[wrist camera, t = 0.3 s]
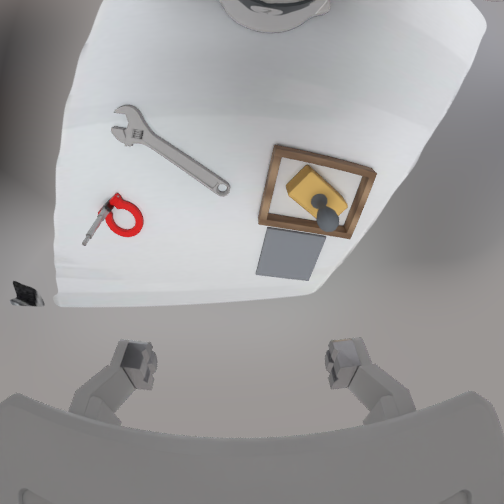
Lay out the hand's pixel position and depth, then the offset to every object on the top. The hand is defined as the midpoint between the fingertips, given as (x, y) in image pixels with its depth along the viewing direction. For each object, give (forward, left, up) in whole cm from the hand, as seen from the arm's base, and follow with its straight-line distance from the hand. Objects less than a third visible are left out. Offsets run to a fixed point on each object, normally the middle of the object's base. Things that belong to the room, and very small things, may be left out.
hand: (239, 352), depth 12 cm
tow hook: (+19, -22, -39) cm, 48 cm away
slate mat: (+23, +13, -38) cm, 46 cm away
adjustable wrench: (+5, -13, -39) cm, 41 cm away
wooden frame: (+8, +14, -38) cm, 41 cm away
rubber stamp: (+8, +14, -39) cm, 42 cm away
